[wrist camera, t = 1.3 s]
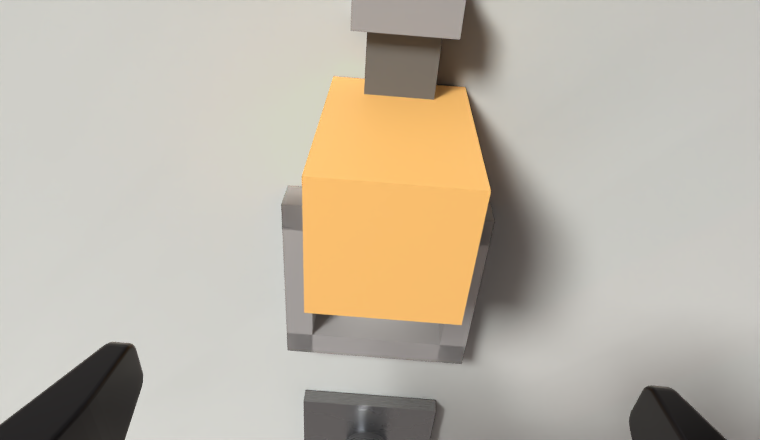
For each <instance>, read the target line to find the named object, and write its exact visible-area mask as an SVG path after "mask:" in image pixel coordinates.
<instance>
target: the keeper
mask: <svg viewBox="0 0 760 440" xmlns="http://www.w3.org/2000/svg"><path fill="white" fill-rule="evenodd" d="M435 412H436V407H435V400H427V399H414V398H402V397H389V396H376V395H363V394H350V393H337V392H324V391H311V390H306V391H305V397H304V440H430V436H431V432H432V427H433V422H434V417H435Z"/></svg>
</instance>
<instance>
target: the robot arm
mask: <svg viewBox="0 0 760 440" xmlns="http://www.w3.org/2000/svg"><path fill="white" fill-rule="evenodd" d="M142 383H143V372H142V368H141V365H140V361H139V358H138V354H137V351H136V348H135V346H134V345H133V344H130V343H120V342H110V343H108V344H106V345H104V346H103V347H101V348H100V349H99V350H97V351H96V352H95V353H93V354H92V355H91V356H90V357H88V358H87V359H86V360H84V361H83V362H82V363H80V364H79V365H78V366H76V367H75V368H74V369H72V370H71V371H70V372H69V373H67V374H66V375H65V376H63V377H62V378H61V379H59V380H58V381H57V382H55V383H54V384H53V385H52V386H50V387H49V388H48V389H46V390H45V391H44V392H42V393H41V394H40V395H38V396H37V397H36V398H34V399H33V400H32V401H31V402H29V403H28V404H27V405H25V406H24V407H23V408H21V409H20V410H19V411H17V412H16V413H15V414H13V415H12V416H11V417H10V418H8V419H7V420H6V421H4V422H3V423H2V424H0V440H125V437H126V434H127V431H128V428H129V425H130V422H131V419H132V416H133V412H134V409H135V406H136V403H137V400H138V397H139V394H140V391H141V388H142ZM629 426H630V431H631V437H632V440H726V439H725V438H724V437H723V436H722V435H721V434H720V433H719V432H718V431H717V430H716V429H715V428H714V427H713V426H712V425H711V424H710V423H709V422H708V421H706V420H705V419H704V418H703V417H702V416H701V415H700V414H699V413H698V412H697V411H696V410H695V409H694V408H693V407H692V406H691V405H690V404H689V403H688V402H687V401H686V400H685V399H683V398H682V397H681V396H680V395H679V394H678V393H677V392H676V391H675V390H673V389H672V388H669V387H663V386H647V387H645V388H644V389H643V391H642V393H641V395H640V397H639V398H638V400H637V402H636V404H635V406H634V407H633V409H632V411H631V413H630V418H629Z"/></svg>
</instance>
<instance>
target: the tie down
mask: <svg viewBox="0 0 760 440" xmlns="http://www.w3.org/2000/svg"><path fill="white" fill-rule="evenodd" d="M465 4H466V0H352V6H351V31H361V32H367V47H366V65H365V79H359V78H346V77H333V80H332V83H331V86H330V89H329V92H328V95H327V99H326V102H325V105H324V108H323V111H322V114H321V117H320V121H319V124H318V127H317V130H316V133H315V136H314V139H313V143H312V146H311V149H310V152H309V155H308V158H307V161H306V165H305V168H304V171H303V174H302V187H299V186H288V187H287V190H286V193H285V195H284V198H283V201H282V204H281V210H282V233H283V256H284V278H285V301H286V324H287V347H288V350H290V351H303V352H316V353H328V354H341V355H354V356H367V357H380V358H393V359H406V360H418V361H431V362H444V363H457V364H462V360H463V355H464V351H465V347H466V343H467V338H468V334H469V330H470V326H471V321H472V317H473V313H474V308H475V304H476V300H477V296H478V291H479V287H480V283H481V278H482V274H483V270H484V266H485V261H486V257H487V253H488V248H489V244H490V240H491V236H492V231H493V227H494V223H495V220H494V216H493V212H492V208H491V204H490V202H489V198H490V193H491V189H490V185H489V181H488V177H487V173H486V169H485V165H484V161H483V157H482V153H481V149H480V145H479V141H478V137H477V133H476V129H475V125H474V120H473V116H472V112H471V108H470V104H469V100H468V96H467V92H466V88H465V87H457V86H445V85H436V81H437V74H438V66H439V59H440V51H441V44H442V38H447V39H459V40H460V37H461V30H462V24H463V17H464V11H465Z"/></svg>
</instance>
